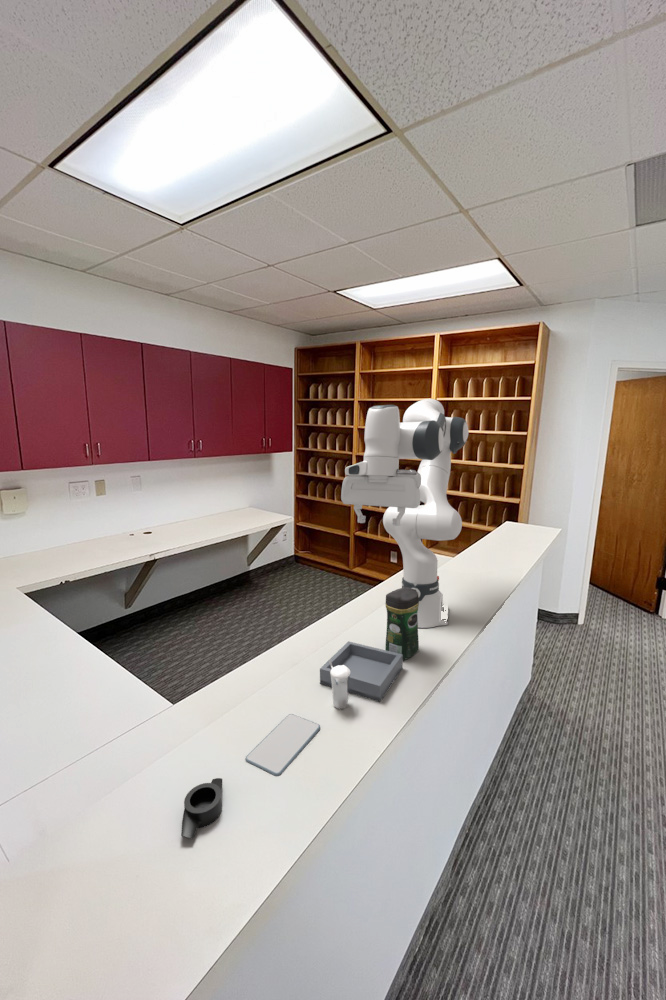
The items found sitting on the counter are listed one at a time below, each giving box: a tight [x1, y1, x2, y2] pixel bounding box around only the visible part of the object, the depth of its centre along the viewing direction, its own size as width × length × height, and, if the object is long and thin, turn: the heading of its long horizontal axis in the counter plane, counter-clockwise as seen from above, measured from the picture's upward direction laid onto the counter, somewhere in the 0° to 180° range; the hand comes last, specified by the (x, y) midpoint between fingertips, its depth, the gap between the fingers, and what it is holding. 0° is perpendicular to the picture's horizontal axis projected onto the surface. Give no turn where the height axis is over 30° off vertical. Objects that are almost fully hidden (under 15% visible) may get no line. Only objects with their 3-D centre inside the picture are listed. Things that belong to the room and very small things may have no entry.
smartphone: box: [244, 713, 321, 777], centre depth 83 cm, size 8×1×15 cm
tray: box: [319, 641, 404, 703], centre depth 106 cm, size 16×16×4 cm
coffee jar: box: [384, 587, 420, 661], centre depth 116 cm, size 10×8×19 cm
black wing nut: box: [180, 777, 223, 840], centre depth 67 cm, size 8×10×3 cm
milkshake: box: [328, 659, 350, 710], centre depth 94 cm, size 4×5×10 cm
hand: (378, 524), depth 104 cm, fingers open, 8 cm apart
